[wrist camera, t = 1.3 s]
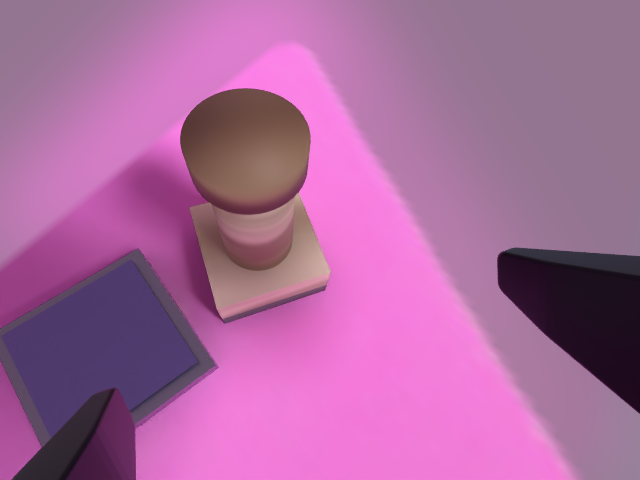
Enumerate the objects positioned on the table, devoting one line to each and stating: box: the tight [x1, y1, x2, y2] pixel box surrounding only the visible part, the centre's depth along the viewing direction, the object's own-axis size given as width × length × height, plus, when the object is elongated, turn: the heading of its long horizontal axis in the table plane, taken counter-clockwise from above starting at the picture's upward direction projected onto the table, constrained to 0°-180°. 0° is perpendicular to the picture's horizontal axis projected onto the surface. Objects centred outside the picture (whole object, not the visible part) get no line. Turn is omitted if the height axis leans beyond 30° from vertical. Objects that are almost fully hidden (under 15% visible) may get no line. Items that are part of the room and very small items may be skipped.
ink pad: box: [0, 248, 219, 447], centre depth 20 cm, size 8×8×1 cm
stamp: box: [180, 88, 331, 323], centre depth 19 cm, size 6×6×11 cm
